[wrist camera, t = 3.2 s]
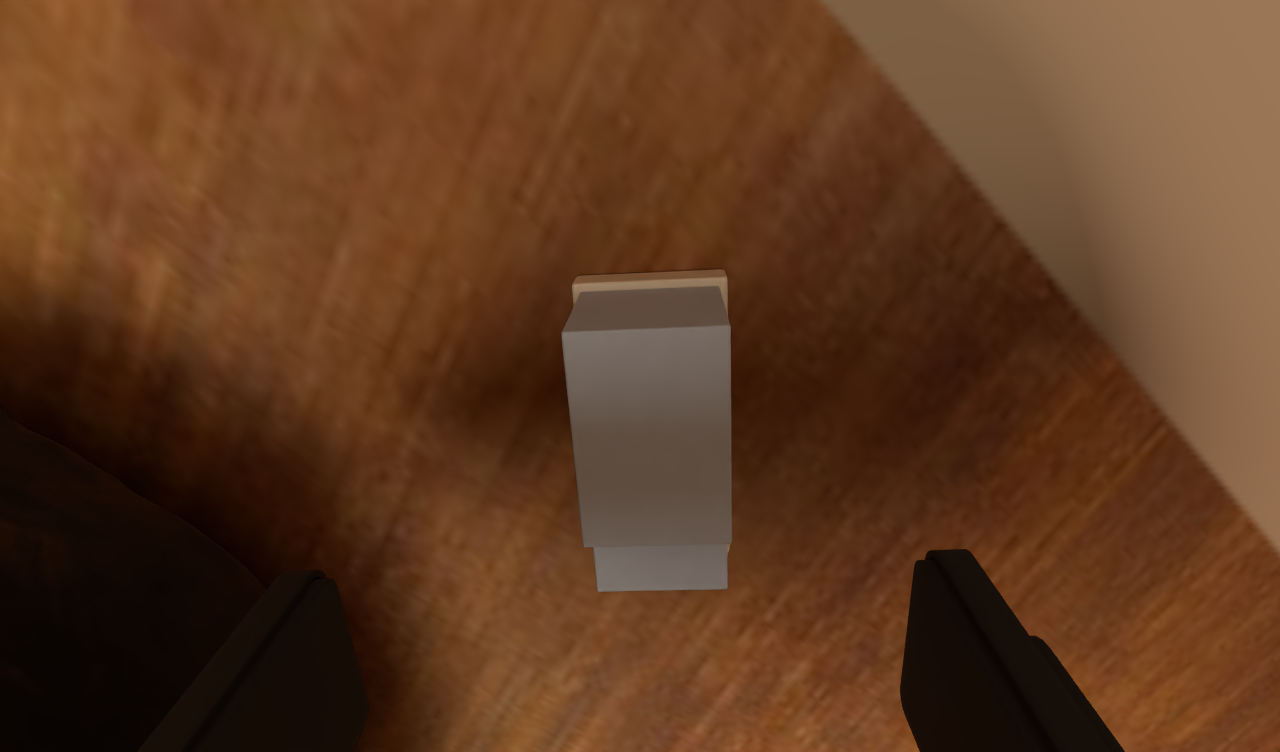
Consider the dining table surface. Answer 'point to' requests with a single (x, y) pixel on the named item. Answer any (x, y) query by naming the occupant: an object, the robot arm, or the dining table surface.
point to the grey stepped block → (652, 426)
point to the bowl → (100, 602)
